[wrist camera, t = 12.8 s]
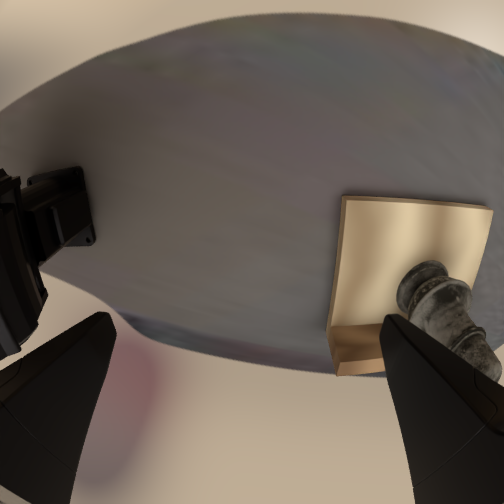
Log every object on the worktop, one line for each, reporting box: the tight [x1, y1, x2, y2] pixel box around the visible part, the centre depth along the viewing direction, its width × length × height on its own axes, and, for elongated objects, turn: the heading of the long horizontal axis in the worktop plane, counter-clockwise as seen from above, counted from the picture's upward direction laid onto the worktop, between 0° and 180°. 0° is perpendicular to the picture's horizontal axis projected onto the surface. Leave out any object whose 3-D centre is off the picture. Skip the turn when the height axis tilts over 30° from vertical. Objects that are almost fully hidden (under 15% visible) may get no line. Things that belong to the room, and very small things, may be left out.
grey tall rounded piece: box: [396, 260, 502, 383], centre depth 15 cm, size 6×6×12 cm
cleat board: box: [326, 196, 493, 376], centre depth 18 cm, size 14×12×5 cm
